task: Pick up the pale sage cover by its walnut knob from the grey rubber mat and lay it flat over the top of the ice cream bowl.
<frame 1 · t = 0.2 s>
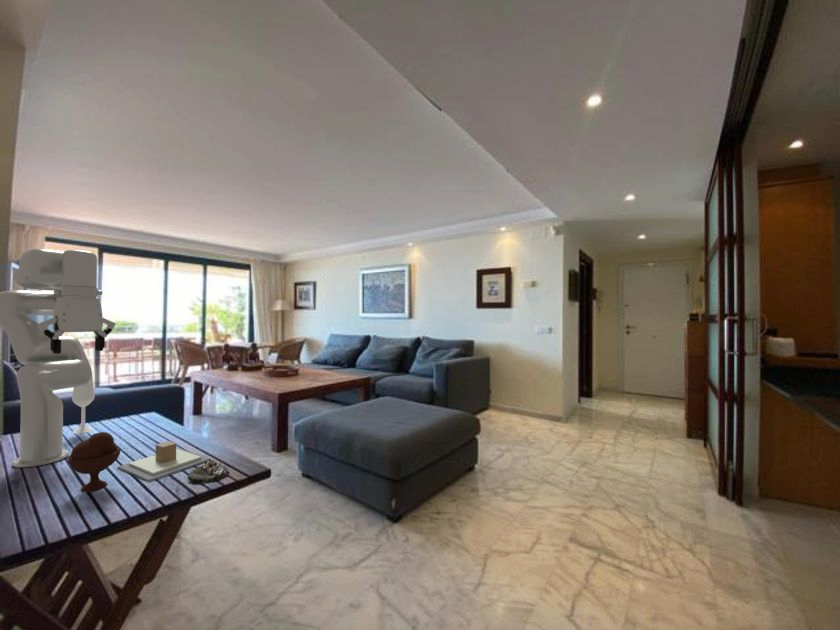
hand: (78, 351, 106), 36 cm above the table, tool pointing down, fingers open, 9 cm apart
mat: (165, 464, 116), on the table
cover: (165, 462, 116), point 1 cm above the table, touching mat
ice cream bowl: (94, 488, 100), on the table
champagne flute: (83, 431, 146), on the table
grey green irregular lump: (208, 477, 109), on the table
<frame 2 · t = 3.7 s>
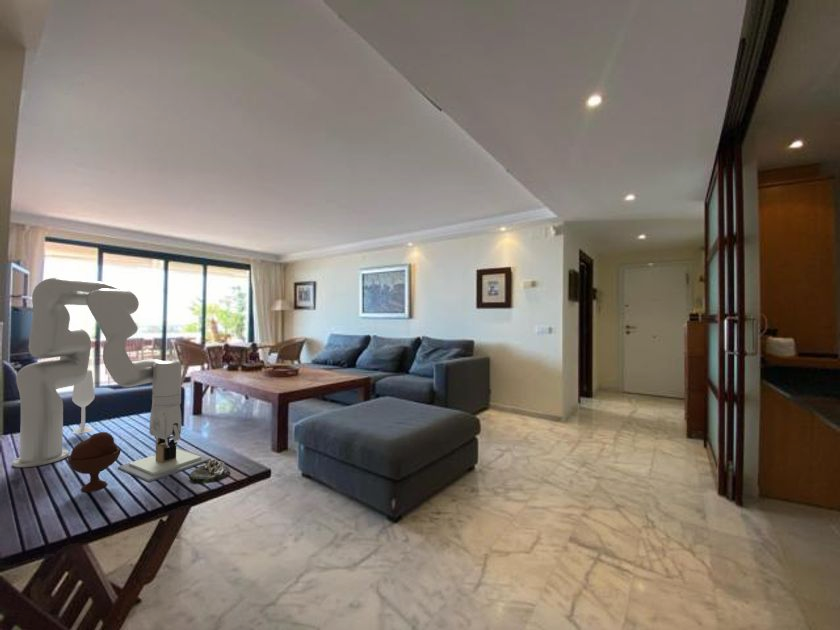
hand: (165, 456, 116), 2 cm above the table, tool pointing down, fingers closed on cover, 4 cm apart
cover: (165, 462, 116), point 1 cm above the table, touching gripper, mat
everything else where it was.
when the fingers open (18 cm above the table, at t = 9.2 s): cover drops 1 cm, resting on ice cream bowl.
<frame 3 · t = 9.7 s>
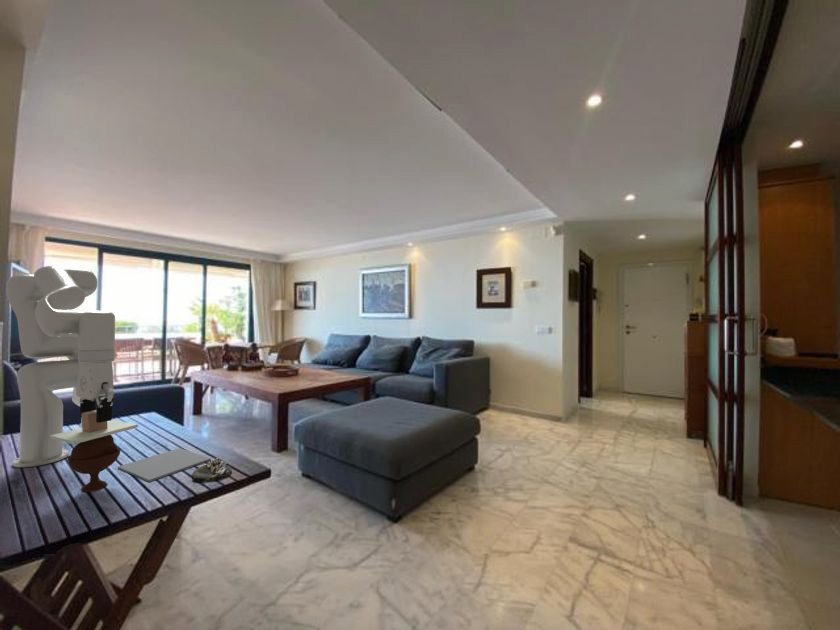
hand: (95, 418, 100), 19 cm above the table, tool pointing down, fingers open, 9 cm apart
cover: (95, 432, 100), point 15 cm above the table, touching ice cream bowl
ice cream bowl: (94, 488, 100), on the table, touching cover
everything else where it was.
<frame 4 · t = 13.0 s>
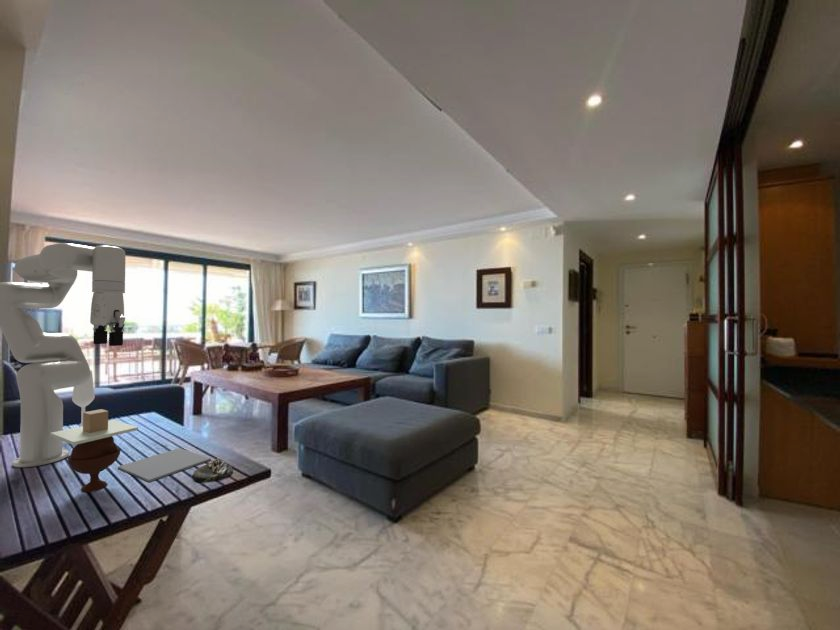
hand: (108, 344, 109), 38 cm above the table, tool pointing down, fingers open, 9 cm apart
at the end: cover 0.1 cm from the ice cream bowl (horizontally); cover point 15.0 cm above the table; cover tilted 0° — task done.
